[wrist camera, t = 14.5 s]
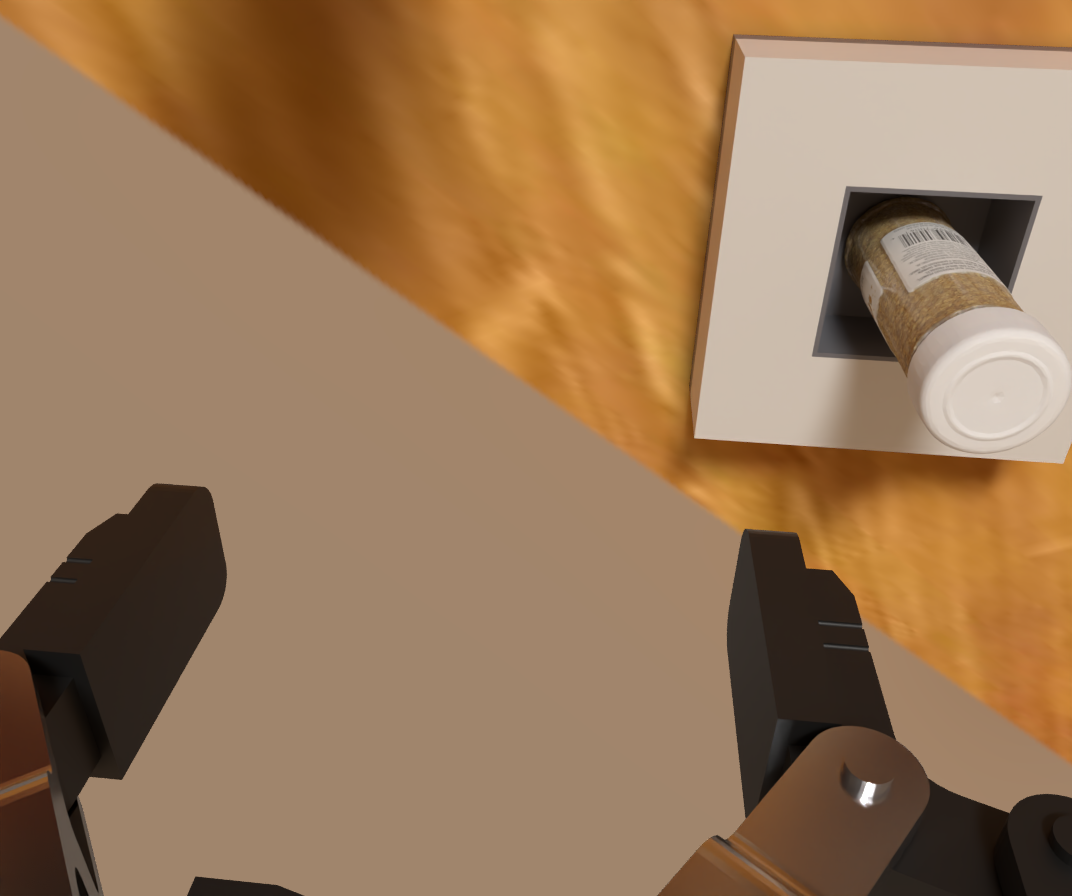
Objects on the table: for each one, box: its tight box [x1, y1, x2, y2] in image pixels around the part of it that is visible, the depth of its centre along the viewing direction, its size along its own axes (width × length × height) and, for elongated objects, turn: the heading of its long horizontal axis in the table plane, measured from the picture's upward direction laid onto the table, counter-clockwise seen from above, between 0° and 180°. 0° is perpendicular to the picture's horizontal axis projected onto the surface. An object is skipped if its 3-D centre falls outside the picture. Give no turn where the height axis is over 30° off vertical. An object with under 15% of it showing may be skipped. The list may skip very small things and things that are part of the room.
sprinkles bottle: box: [844, 197, 1072, 454], centre depth 35 cm, size 5×5×13 cm
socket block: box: [689, 35, 1072, 464], centre depth 39 cm, size 16×16×5 cm
